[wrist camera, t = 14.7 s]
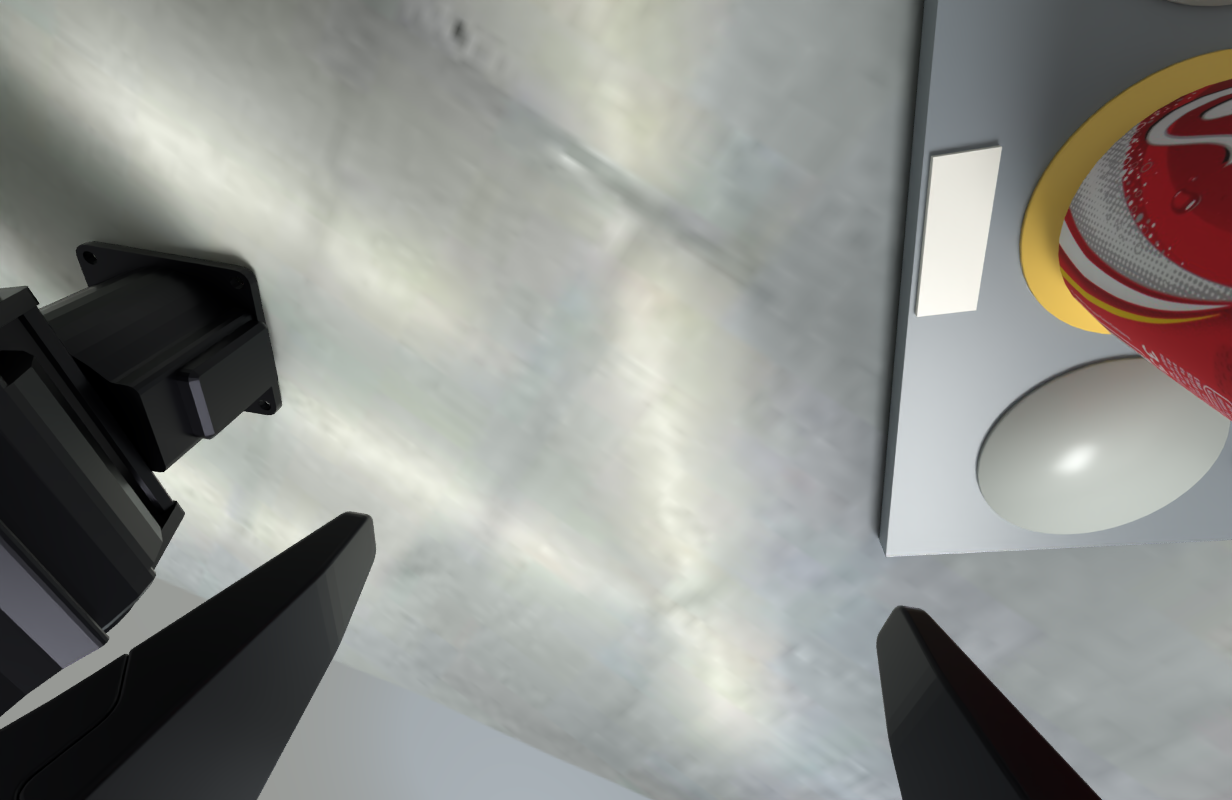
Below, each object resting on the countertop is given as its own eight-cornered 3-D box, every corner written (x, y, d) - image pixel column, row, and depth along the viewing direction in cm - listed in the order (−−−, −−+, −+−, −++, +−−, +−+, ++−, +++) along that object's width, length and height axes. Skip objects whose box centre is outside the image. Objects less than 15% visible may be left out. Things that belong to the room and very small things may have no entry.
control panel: (1241, 520, 24) (1288, 561, 22) (879, 539, 26) (894, 578, 24) (1897, -748, 9) (2191, -933, 8) (962, -452, 12) (1014, -539, 10)
